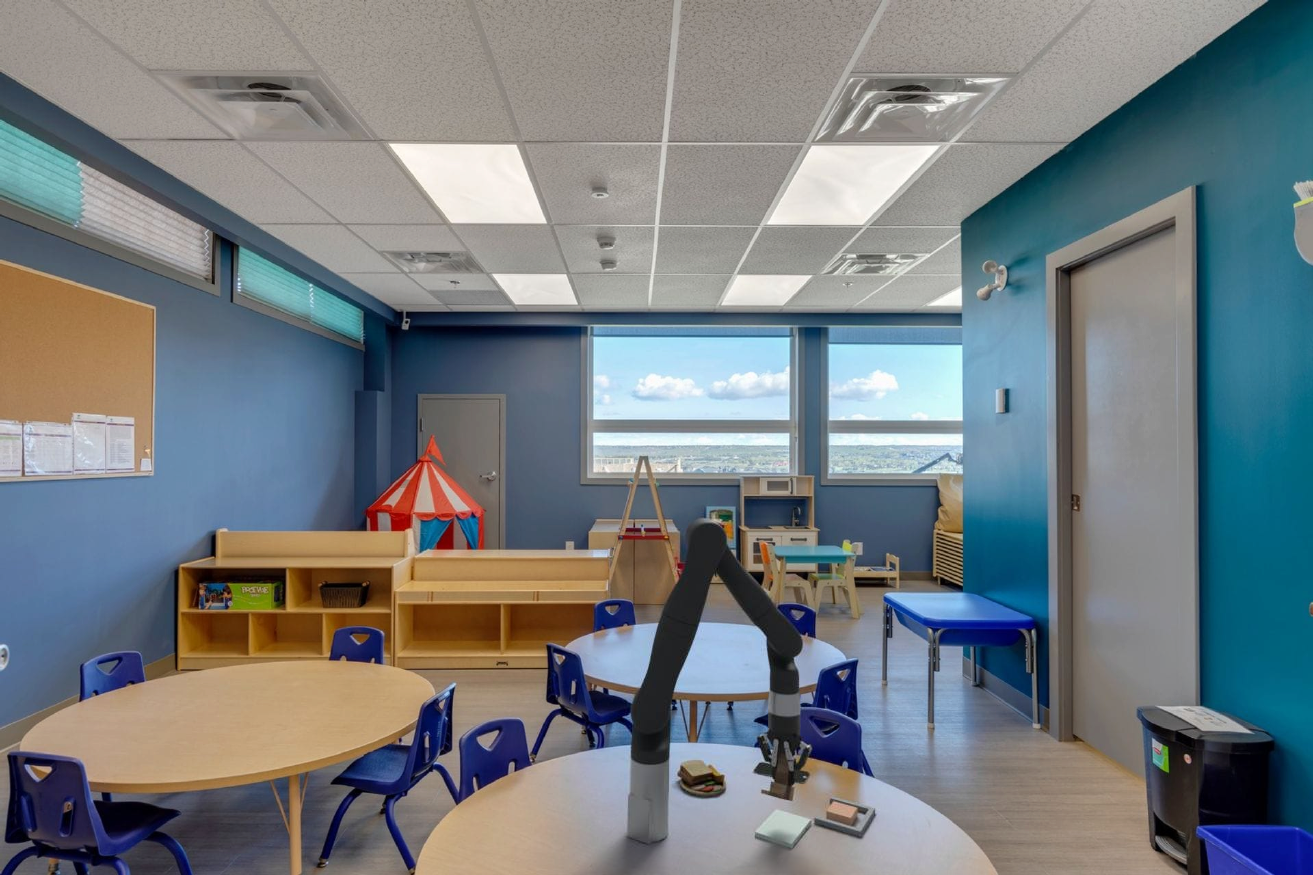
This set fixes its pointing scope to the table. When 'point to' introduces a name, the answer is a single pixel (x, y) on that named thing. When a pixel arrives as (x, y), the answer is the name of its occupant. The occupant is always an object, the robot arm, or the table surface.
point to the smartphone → (767, 771)
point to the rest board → (783, 828)
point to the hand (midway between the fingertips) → (784, 782)
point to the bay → (847, 828)
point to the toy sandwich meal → (700, 778)
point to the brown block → (781, 781)
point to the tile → (841, 813)
